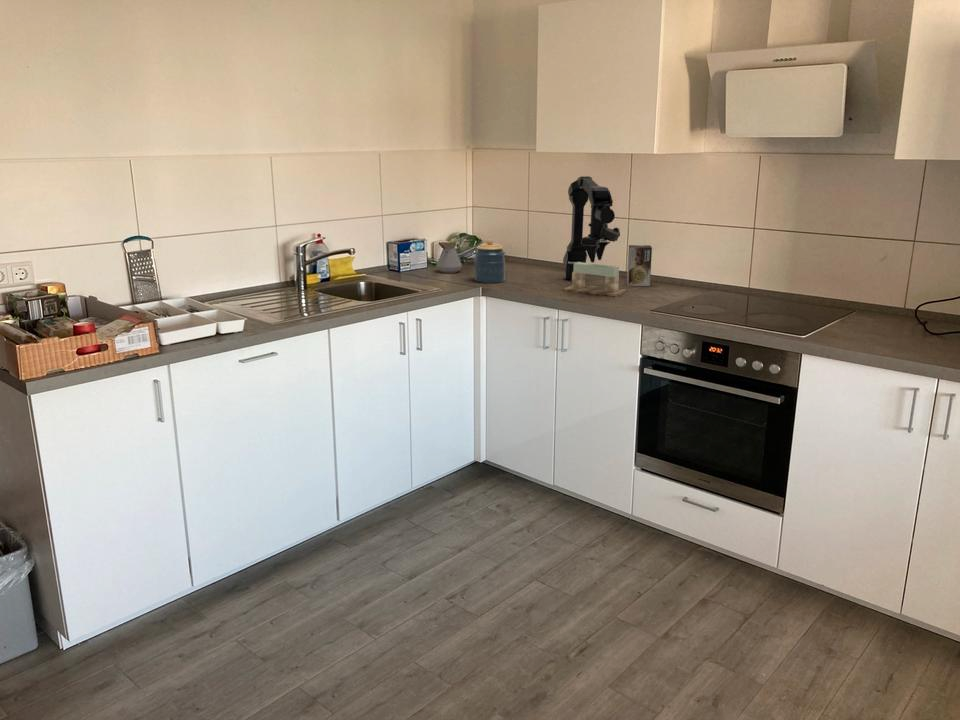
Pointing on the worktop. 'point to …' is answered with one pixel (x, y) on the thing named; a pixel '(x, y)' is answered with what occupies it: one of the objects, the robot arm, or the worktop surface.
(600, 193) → the robot arm
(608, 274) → the sage plank
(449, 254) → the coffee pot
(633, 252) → the coffee box
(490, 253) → the canister
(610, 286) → the birch gate
